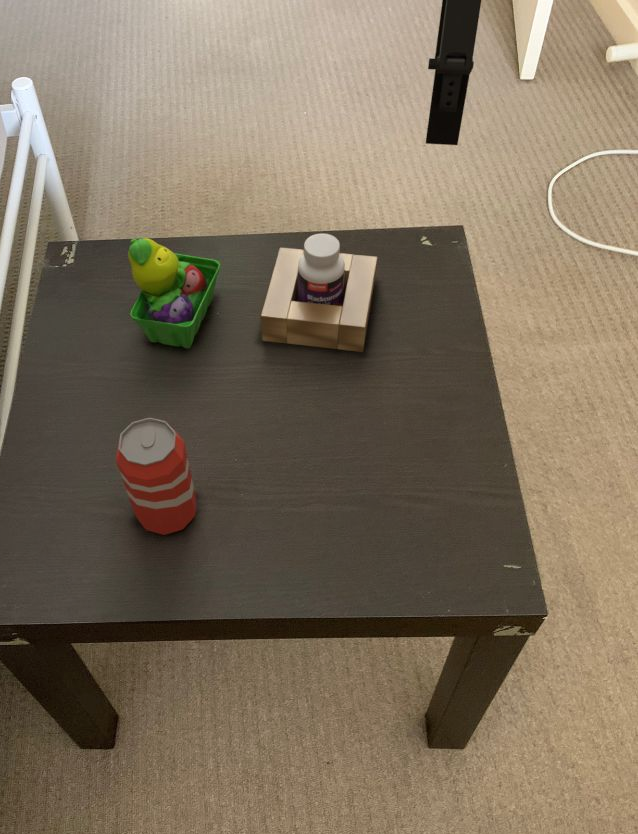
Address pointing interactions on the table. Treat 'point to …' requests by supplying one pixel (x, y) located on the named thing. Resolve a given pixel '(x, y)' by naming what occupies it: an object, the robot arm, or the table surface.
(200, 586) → the table surface
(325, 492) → the table surface
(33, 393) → the table surface
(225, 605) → the table surface
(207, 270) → the fruit basket
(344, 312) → the block
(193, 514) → the beverage can
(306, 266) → the pill bottle
